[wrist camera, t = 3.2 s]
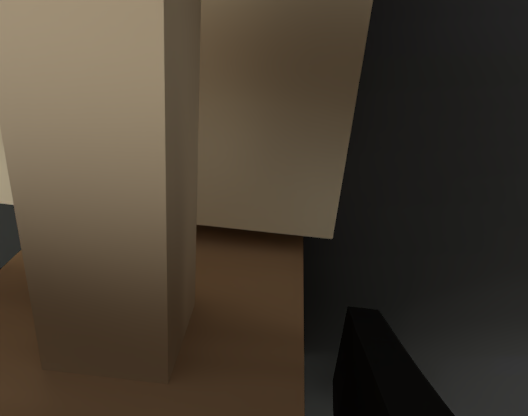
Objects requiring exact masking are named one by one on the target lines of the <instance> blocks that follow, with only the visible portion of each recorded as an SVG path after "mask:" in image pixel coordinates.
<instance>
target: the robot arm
mask: <svg viewBox="0 0 528 416" xmlns="http://www.w3.org/2000/svg"><path fill="white" fill-rule="evenodd" d="M333 414H334V416H455V415H454V414H453V413H452V412H451V410H450V409H449V408H448V407H447V405H446V404H445V403H444V402H443V400H442V399H441V398H440V396H439V395H438V394H437V392H436V391H435V390H434V388H433V387H432V386H431V384H430V383H429V382H428V380H427V379H426V378H425V376H424V375H423V374H422V372H421V371H420V370H419V368H418V367H417V365H416V364H415V363H414V361H413V360H412V358H411V357H410V356H409V354H408V353H407V351H406V350H405V348H404V347H403V345H402V344H401V342H400V341H399V340H398V338H397V337H396V335H395V334H394V332H393V331H392V329H391V328H390V326H389V325H388V323H387V322H386V320H385V319H384V317H383V316H382V314H381V313H380V312H379V311H378V310H374V309H365V308H356V307H348V308H347V313H346V318H345V323H344V328H343V333H342V338H341V343H340V348H339V353H338V358H337V363H336V368H335V373H334V378H333Z"/></svg>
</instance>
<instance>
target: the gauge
mask: <svg viewBox="0 0 528 416" xmlns="http://www.w3.org/2000/svg"><path fill="white" fill-rule="evenodd" d="M200 31H201V0H0V128H1V134H2V140H3V146H4V152H5V157H6V163H7V169H8V175H9V181H10V186H11V192H12V198H13V204H14V210H15V215H16V221H17V227H18V233H19V239H20V244H21V250H20V251H19V252H18V253H17V254H16V255H15V256H14V257H13V258H12V259H11V260H10V261H9V262H8V263H7V264H6V265H4V266H3V267H2V268H1V269H0V416H305V408H304V288H303V236H298V235H289V234H280V233H270V232H261V231H252V230H243V229H233V228H224V227H215V226H205V225H197V176H198V128H199V80H200Z"/></svg>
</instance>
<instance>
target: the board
mask: <svg viewBox="0 0 528 416" xmlns="http://www.w3.org/2000/svg"><path fill="white" fill-rule="evenodd" d="M372 4H373V0H201V31H200V80H199V128H198V176H197V225H205V226H215V227H224V228H233V229H243V230H252V231H261V232H270V233H280V234H289V235H298V236H308V237H317V238H326V239H333V234H334V228H335V222H336V216H337V210H338V204H339V198H340V192H341V187H342V181H343V175H344V169H345V163H346V157H347V151H348V145H349V139H350V133H351V128H352V122H353V116H354V110H355V104H356V98H357V92H358V86H359V80H360V75H361V69H362V63H363V57H364V51H365V45H366V39H367V33H368V27H369V22H370V16H371V10H372ZM0 203H1V204H10V205H14V204H13V198H12V192H11V186H10V181H9V175H8V169H7V163H6V157H5V152H4V146H3V140H2V134H1V128H0Z"/></svg>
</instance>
